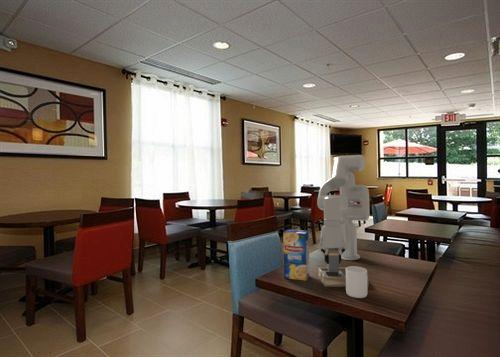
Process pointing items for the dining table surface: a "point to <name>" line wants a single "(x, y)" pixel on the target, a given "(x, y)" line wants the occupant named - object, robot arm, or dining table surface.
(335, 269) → the block
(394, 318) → the dining table surface
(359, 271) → the mug
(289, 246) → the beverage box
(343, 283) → the box
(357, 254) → the robot arm
